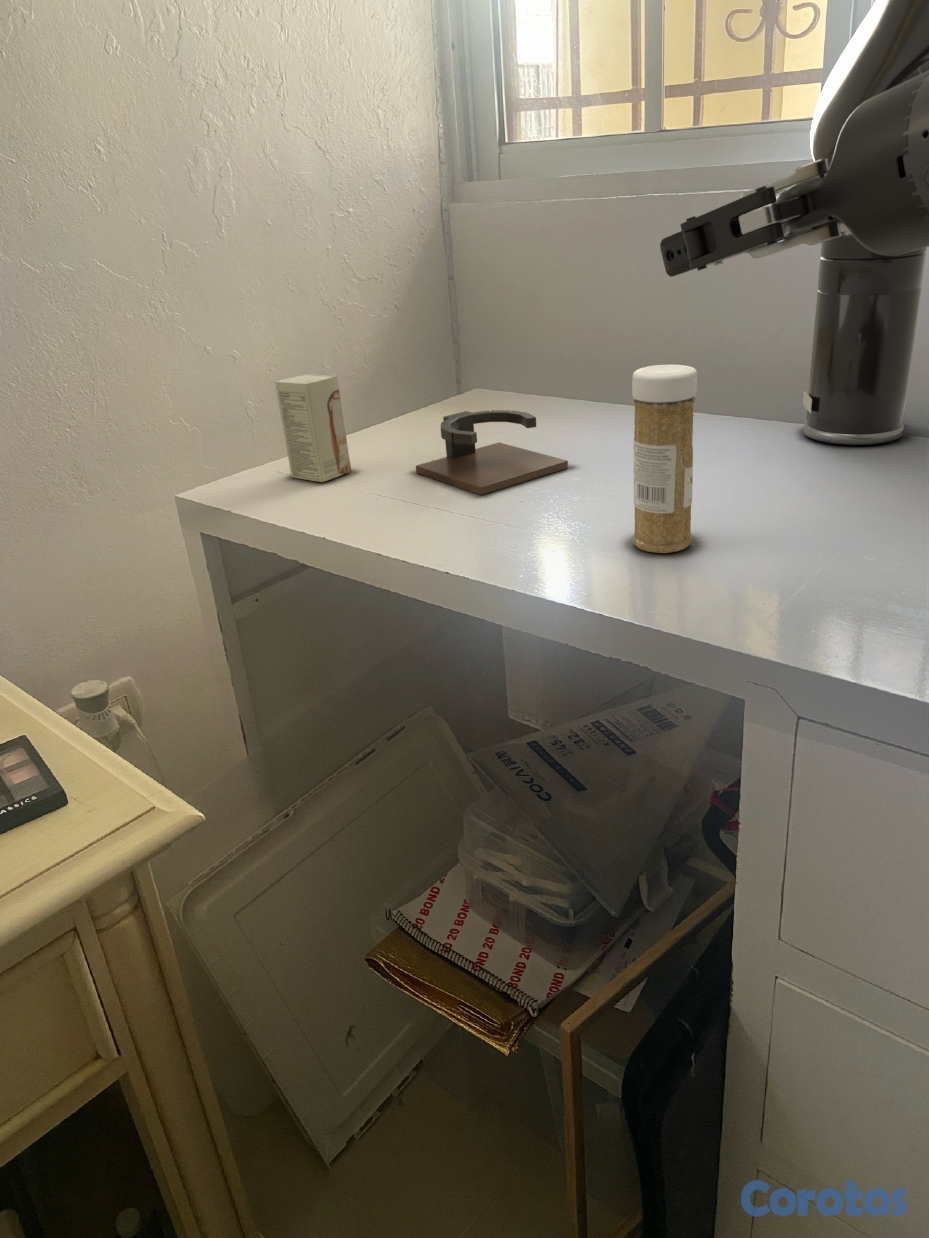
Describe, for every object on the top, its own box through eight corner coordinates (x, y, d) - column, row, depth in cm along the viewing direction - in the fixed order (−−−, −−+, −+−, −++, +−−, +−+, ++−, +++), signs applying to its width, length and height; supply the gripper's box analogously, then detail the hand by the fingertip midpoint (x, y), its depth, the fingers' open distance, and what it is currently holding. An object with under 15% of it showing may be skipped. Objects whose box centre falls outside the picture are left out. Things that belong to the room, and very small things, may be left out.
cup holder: (568, 468, 90) (566, 418, 88) (481, 495, 85) (477, 443, 83) (498, 449, 99) (496, 403, 96) (415, 472, 93) (410, 424, 91)
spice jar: (704, 544, 70) (711, 367, 64) (661, 560, 68) (664, 378, 62) (661, 529, 73) (664, 360, 67) (619, 544, 71) (618, 370, 65)
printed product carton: (353, 472, 95) (340, 375, 90) (322, 484, 92) (307, 384, 87) (320, 466, 98) (305, 371, 94) (289, 477, 95) (272, 380, 91)
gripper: (1049, 37, 43) (787, 158, 57) (847, 81, 38) (613, 202, 52) (1070, 200, 45) (811, 278, 59) (880, 265, 39) (645, 333, 54)
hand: (719, 243), depth 56 cm, fingers open, 8 cm apart
